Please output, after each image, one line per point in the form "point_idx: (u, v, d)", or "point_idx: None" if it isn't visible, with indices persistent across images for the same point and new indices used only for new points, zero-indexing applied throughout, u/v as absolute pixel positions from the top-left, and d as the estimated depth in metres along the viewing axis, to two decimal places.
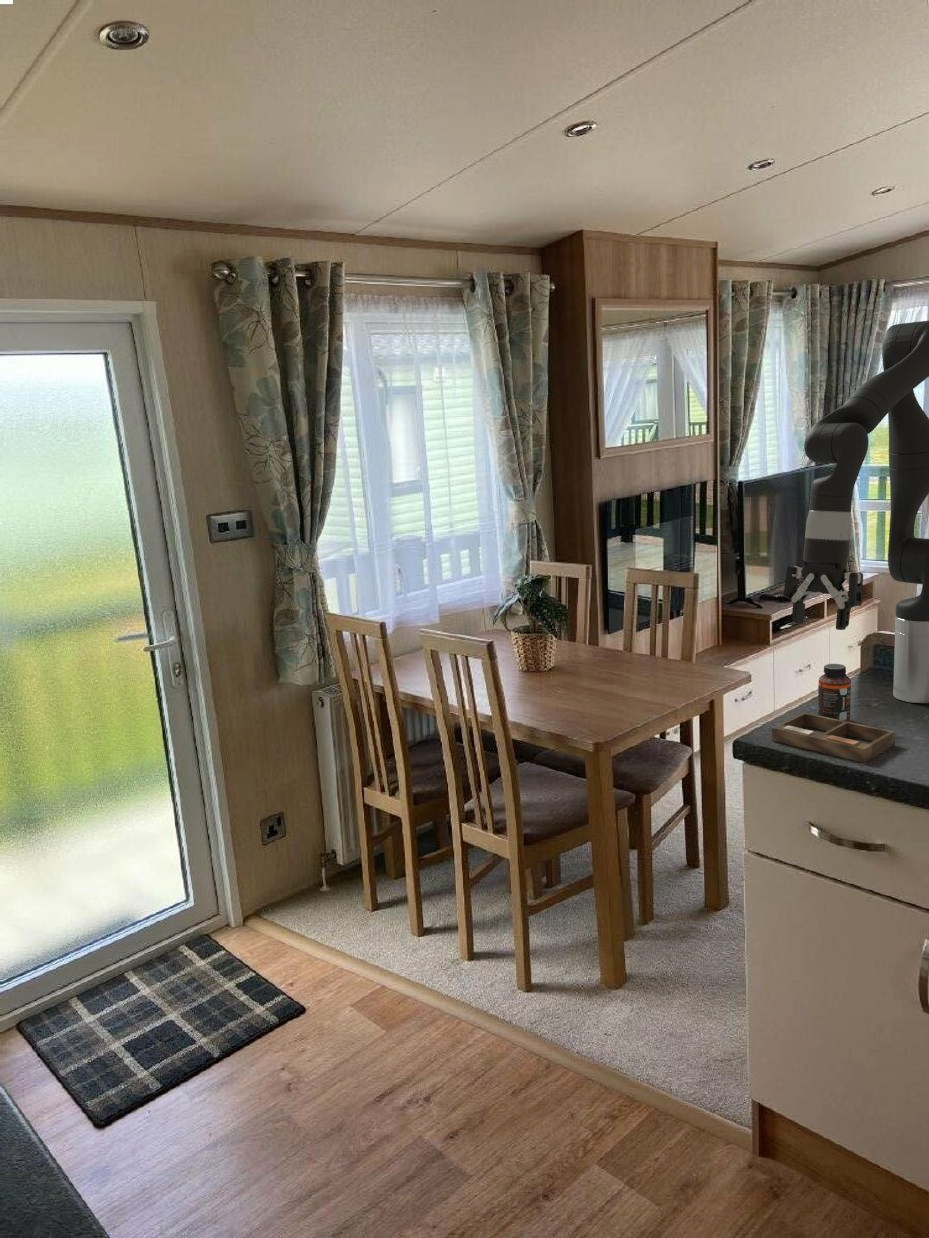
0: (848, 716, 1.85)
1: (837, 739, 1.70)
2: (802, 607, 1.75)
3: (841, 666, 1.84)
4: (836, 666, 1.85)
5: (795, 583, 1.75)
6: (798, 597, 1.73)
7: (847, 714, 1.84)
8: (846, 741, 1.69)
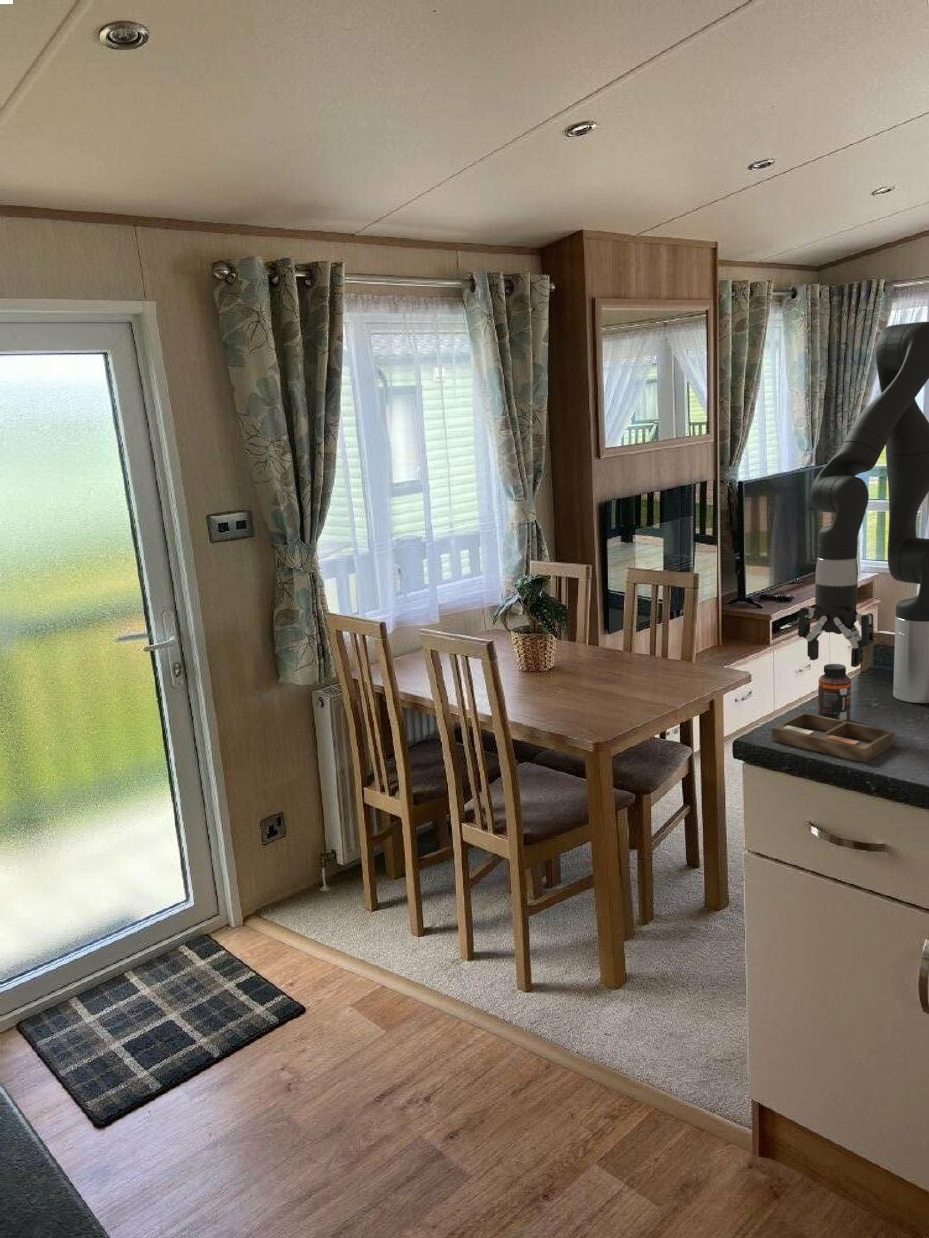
0: (848, 716, 1.85)
1: (837, 739, 1.70)
2: (816, 644, 1.87)
3: (841, 666, 1.84)
4: (836, 666, 1.85)
5: (808, 622, 1.87)
6: (812, 636, 1.85)
7: (847, 714, 1.84)
8: (846, 741, 1.69)
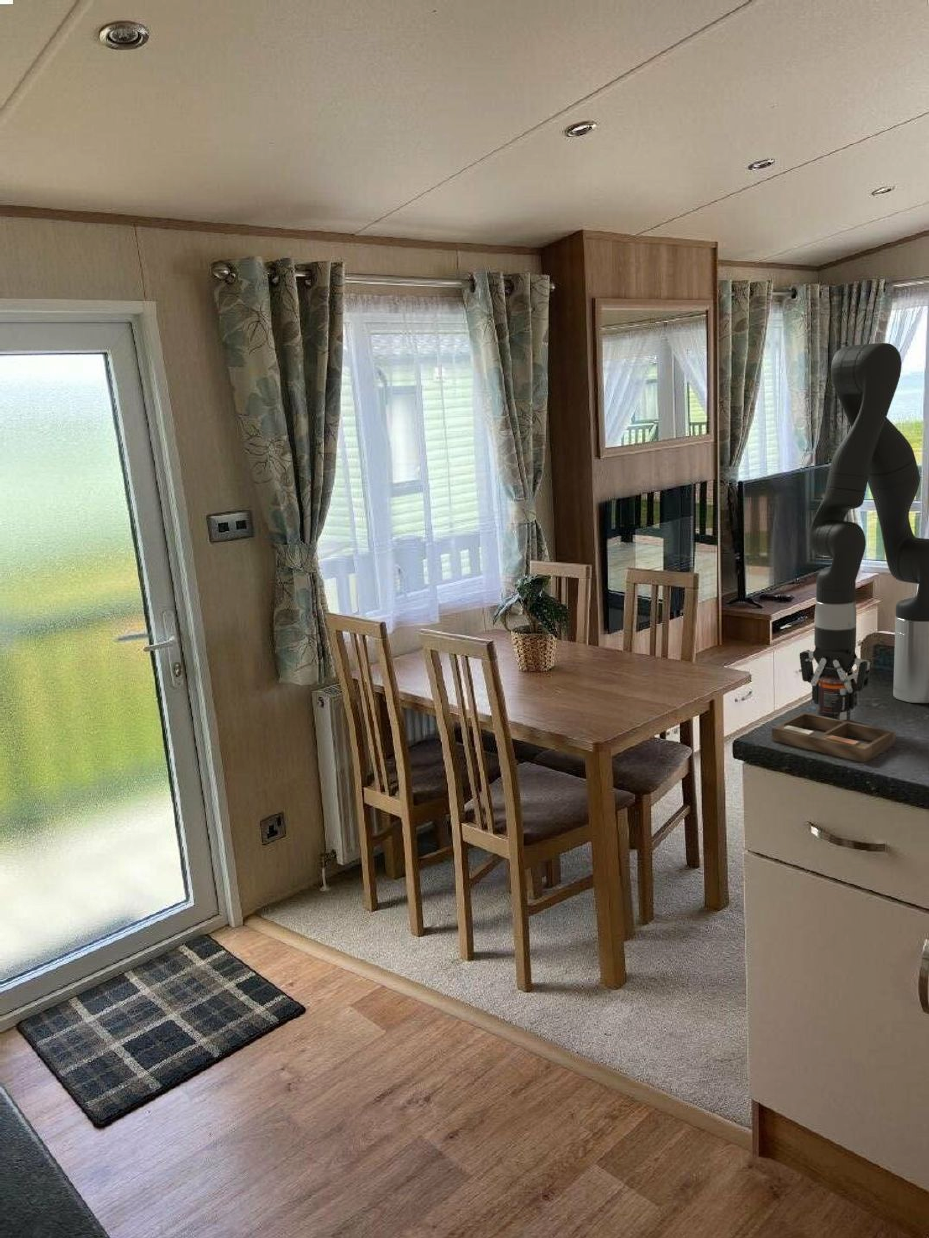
0: (848, 716, 1.85)
1: (837, 739, 1.70)
2: None
3: None
4: None
5: (810, 666, 1.89)
6: (817, 681, 1.87)
7: (847, 714, 1.84)
8: (846, 741, 1.69)
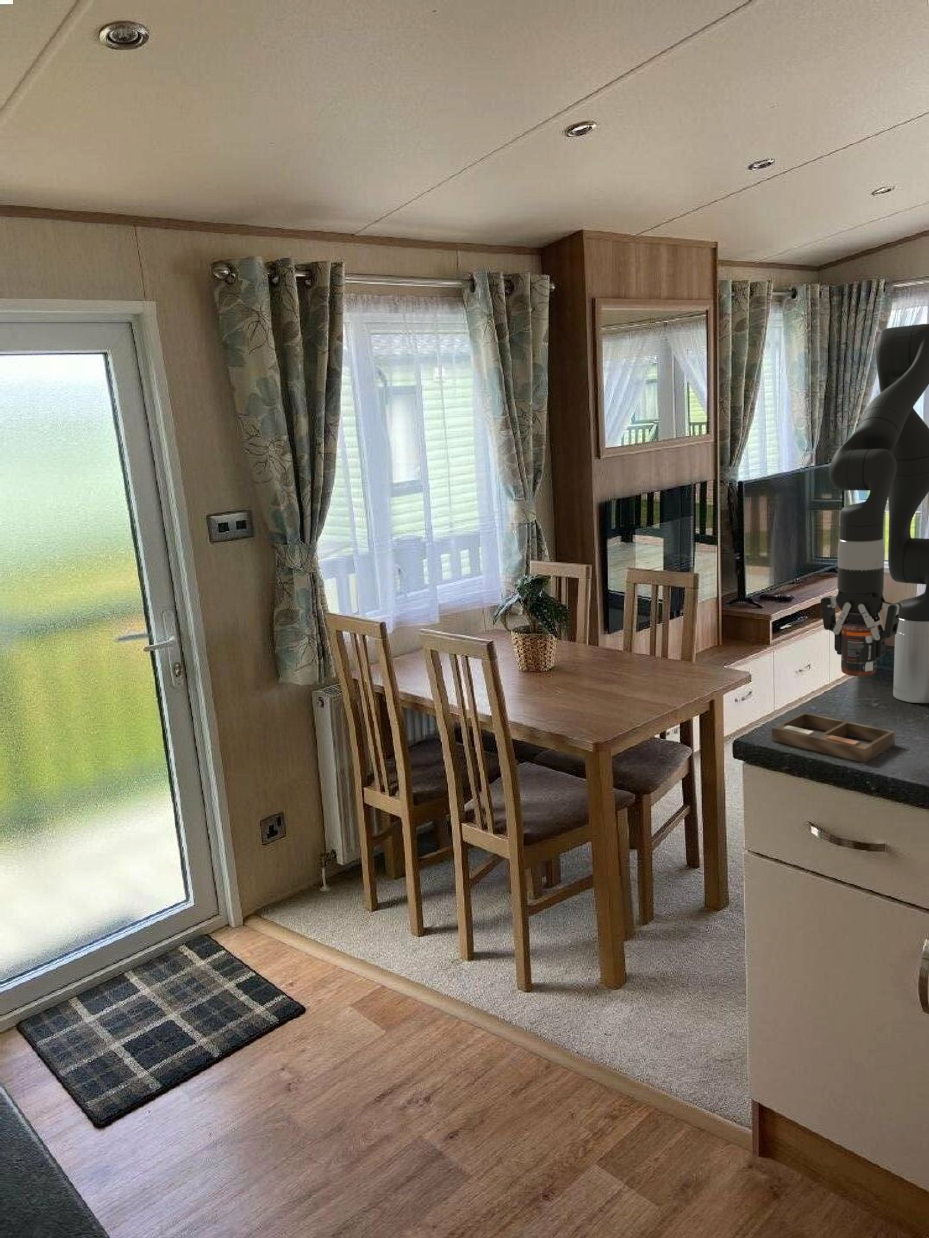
0: (874, 667, 1.68)
1: (837, 739, 1.70)
2: None
3: None
4: None
5: (832, 613, 1.72)
6: (840, 629, 1.70)
7: (873, 664, 1.68)
8: (846, 741, 1.69)
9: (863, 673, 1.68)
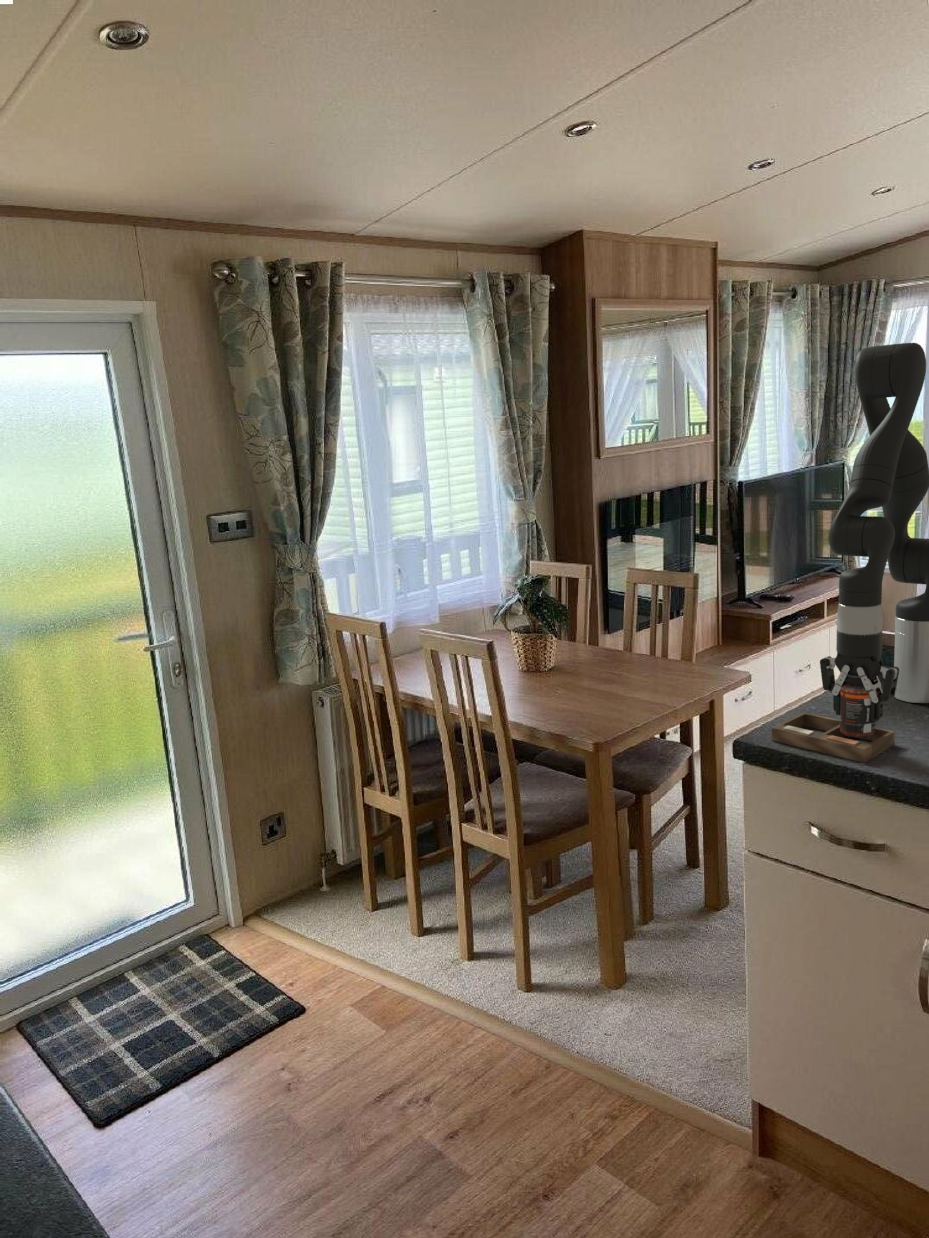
0: (873, 728, 1.70)
1: (837, 739, 1.70)
2: None
3: None
4: None
5: (831, 674, 1.75)
6: (839, 690, 1.73)
7: (872, 726, 1.70)
8: (846, 741, 1.69)
9: (861, 735, 1.70)
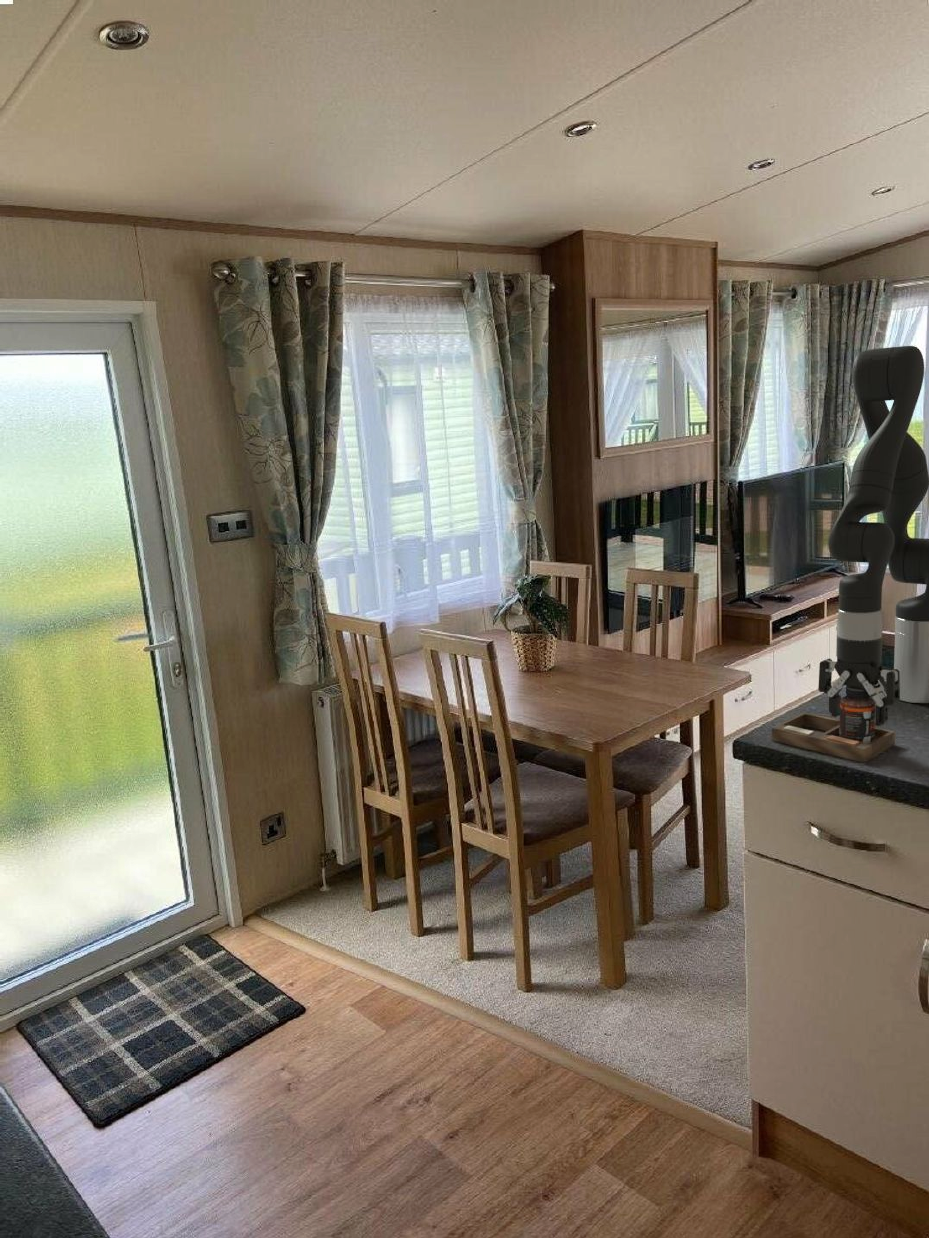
0: (872, 741, 1.71)
1: (837, 739, 1.70)
2: (838, 700, 1.75)
3: None
4: None
5: (829, 676, 1.75)
6: (834, 692, 1.74)
7: (871, 739, 1.71)
8: (846, 741, 1.69)
9: None
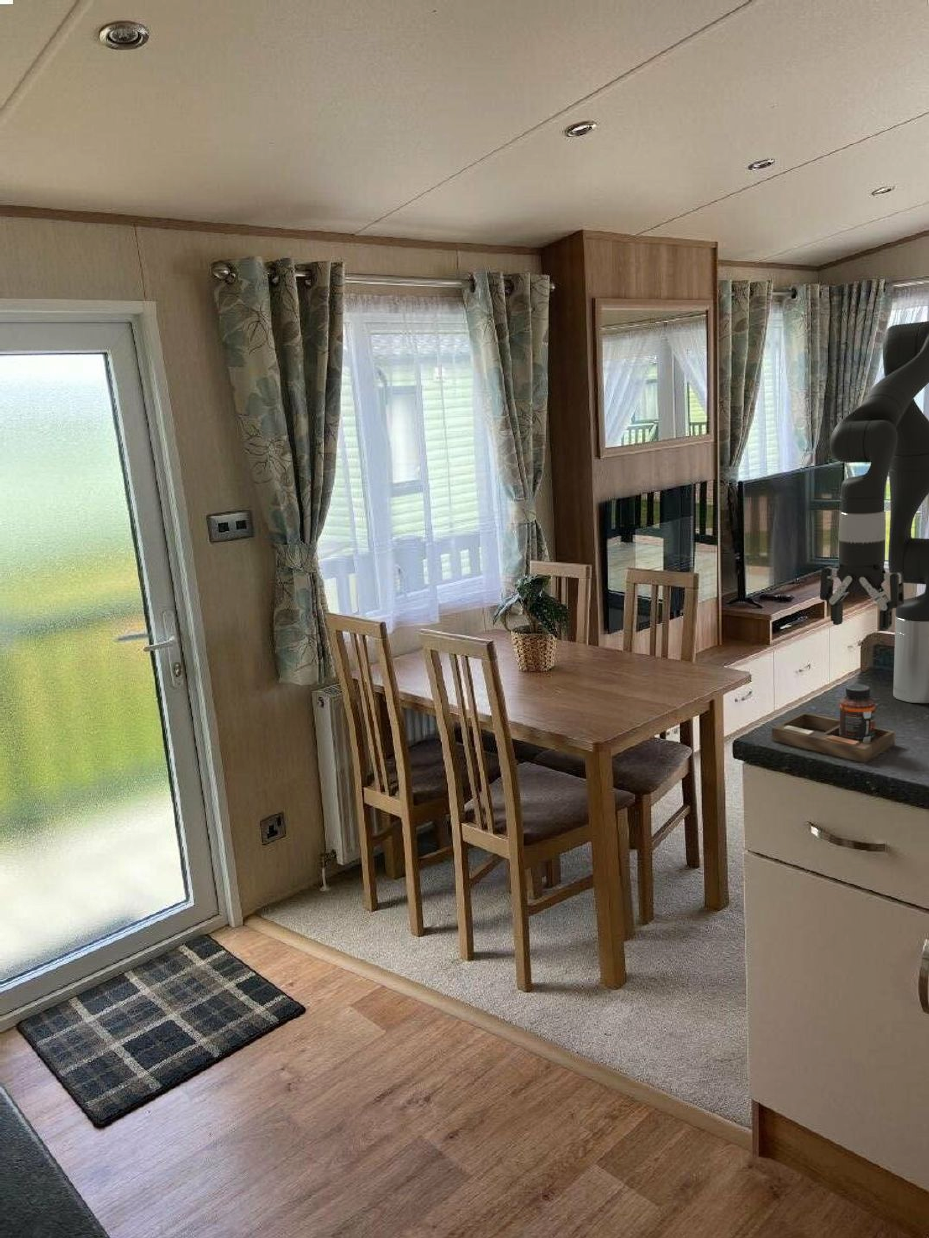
0: (872, 741, 1.71)
1: (837, 739, 1.70)
2: (840, 608, 1.72)
3: (865, 687, 1.71)
4: (859, 687, 1.71)
5: (830, 584, 1.72)
6: (836, 599, 1.70)
7: (871, 739, 1.71)
8: (846, 741, 1.69)
9: None
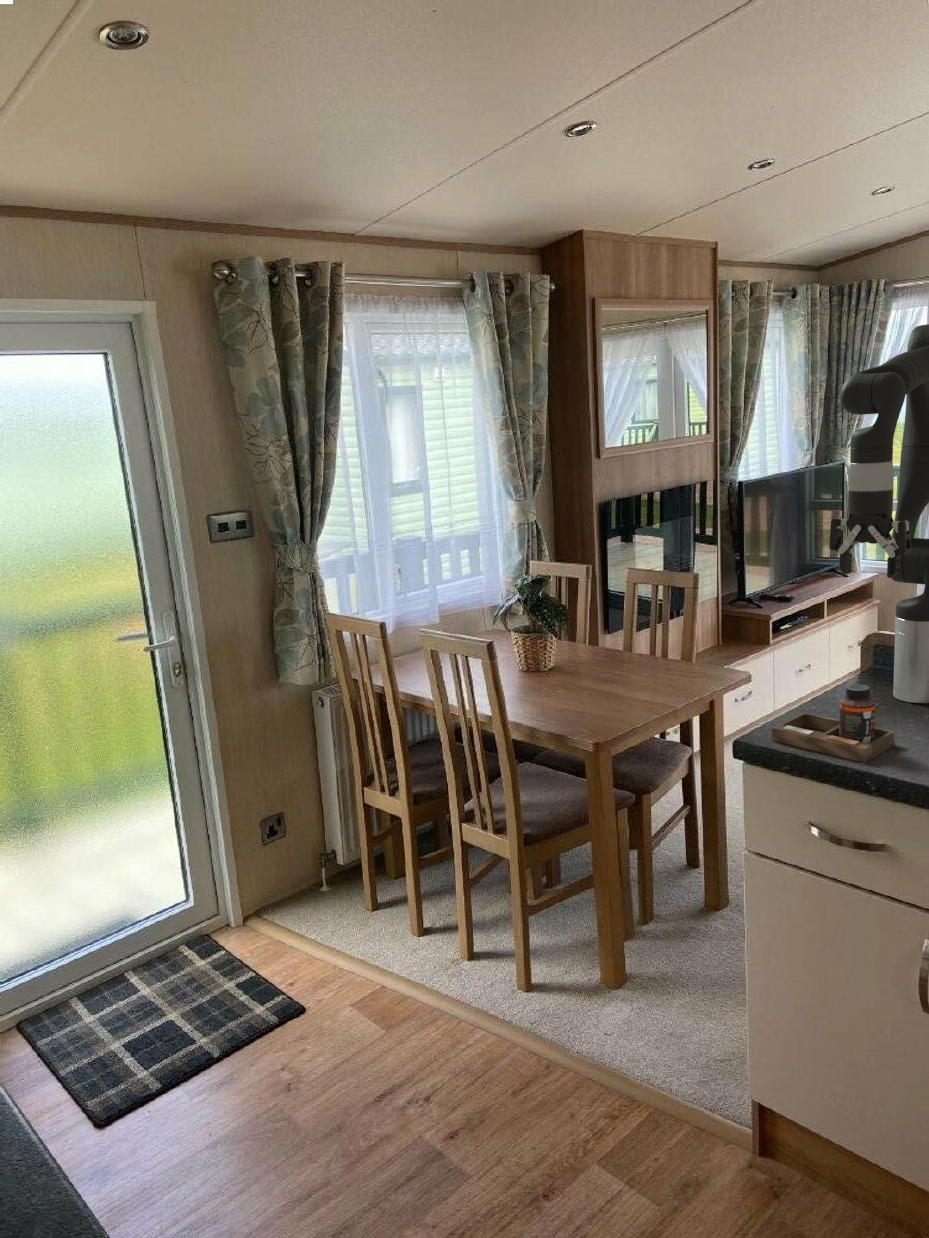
0: (872, 741, 1.71)
1: (837, 739, 1.70)
2: (849, 557, 1.77)
3: (865, 687, 1.71)
4: (859, 687, 1.71)
5: (840, 534, 1.78)
6: (845, 548, 1.76)
7: (871, 739, 1.71)
8: (846, 741, 1.69)
9: None
